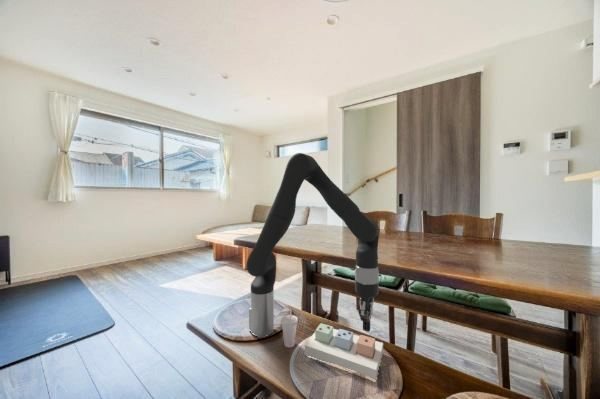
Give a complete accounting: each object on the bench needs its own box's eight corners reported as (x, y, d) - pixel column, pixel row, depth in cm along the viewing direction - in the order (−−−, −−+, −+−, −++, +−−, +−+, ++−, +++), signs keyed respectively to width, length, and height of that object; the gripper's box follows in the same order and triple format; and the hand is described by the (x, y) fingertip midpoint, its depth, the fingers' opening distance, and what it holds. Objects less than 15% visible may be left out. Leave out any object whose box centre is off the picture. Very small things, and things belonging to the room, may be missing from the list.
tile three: (335, 352, 81) (335, 335, 80) (339, 344, 85) (339, 328, 85) (349, 357, 78) (349, 339, 78) (353, 348, 83) (353, 331, 82)
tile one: (356, 359, 77) (356, 342, 77) (360, 350, 81) (360, 333, 81) (372, 365, 75) (372, 346, 74) (374, 355, 79) (375, 338, 79)
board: (304, 356, 81) (304, 345, 81) (320, 334, 93) (320, 324, 93) (376, 382, 70) (376, 369, 70) (383, 354, 82) (383, 342, 82)
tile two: (315, 345, 84) (315, 329, 84) (320, 338, 88) (320, 322, 88) (328, 350, 82) (328, 333, 81) (333, 342, 86) (333, 326, 86)
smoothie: (295, 351, 84) (295, 313, 83) (278, 348, 85) (278, 311, 84) (299, 340, 90) (299, 304, 89) (283, 337, 91) (283, 302, 91)
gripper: (360, 271, 85) (360, 317, 85) (350, 284, 73) (350, 338, 74) (381, 274, 81) (381, 323, 82) (374, 288, 70) (374, 345, 70)
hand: (366, 330), depth 78 cm, fingers closed
